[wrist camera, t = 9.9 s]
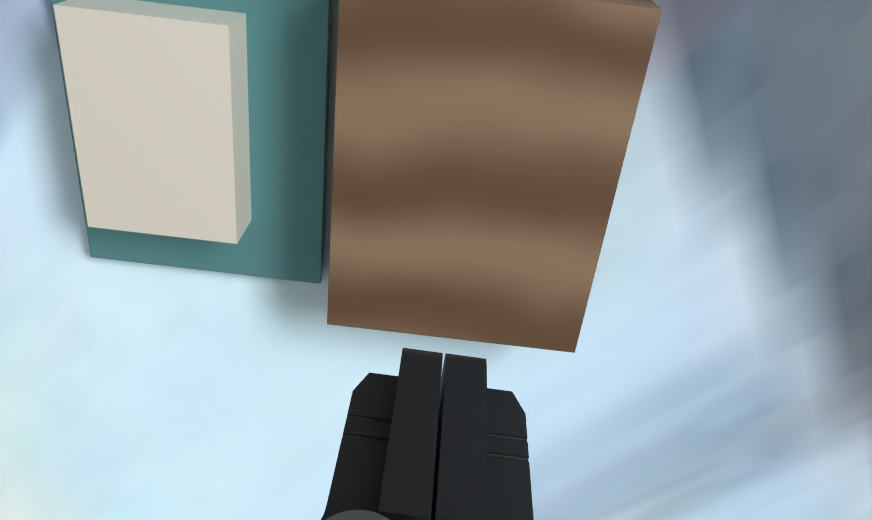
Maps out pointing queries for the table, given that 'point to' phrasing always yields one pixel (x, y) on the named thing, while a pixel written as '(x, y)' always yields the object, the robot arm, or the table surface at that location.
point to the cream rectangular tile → (159, 116)
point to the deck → (479, 162)
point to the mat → (261, 152)
